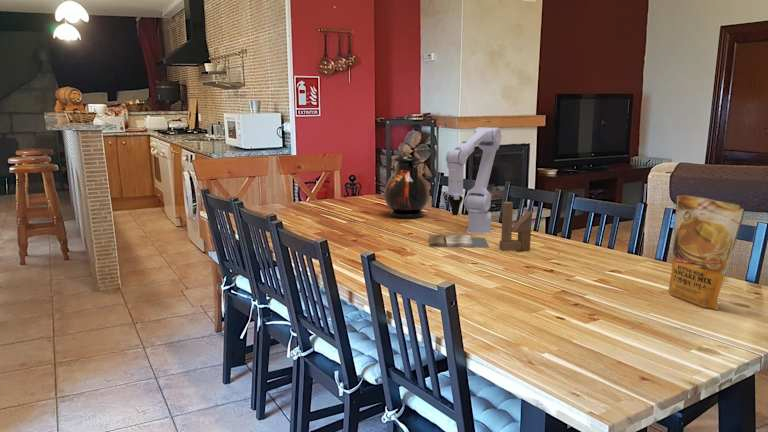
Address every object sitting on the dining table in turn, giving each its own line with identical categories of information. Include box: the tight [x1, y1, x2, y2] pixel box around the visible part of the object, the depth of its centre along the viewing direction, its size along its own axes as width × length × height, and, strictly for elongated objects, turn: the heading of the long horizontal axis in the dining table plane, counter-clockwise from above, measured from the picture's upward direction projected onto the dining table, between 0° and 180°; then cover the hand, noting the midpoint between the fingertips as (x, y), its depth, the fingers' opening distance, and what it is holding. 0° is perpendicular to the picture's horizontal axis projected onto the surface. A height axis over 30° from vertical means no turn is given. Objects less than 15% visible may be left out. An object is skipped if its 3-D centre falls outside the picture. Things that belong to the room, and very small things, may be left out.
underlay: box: [429, 237, 490, 249], centre depth 221 cm, size 22×16×1 cm
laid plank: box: [428, 234, 446, 247], centre depth 222 cm, size 6×14×1 cm, turn 176°
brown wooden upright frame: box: [498, 201, 533, 252], centre depth 210 cm, size 4×11×18 cm, turn 104°
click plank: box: [444, 234, 473, 248], centre depth 221 cm, size 10×14×1 cm
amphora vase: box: [384, 156, 430, 219], centre depth 275 cm, size 22×22×28 cm
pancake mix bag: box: [667, 194, 745, 311], centre depth 154 cm, size 7×19×28 cm, turn 19°
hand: (455, 215), depth 226 cm, fingers closed
